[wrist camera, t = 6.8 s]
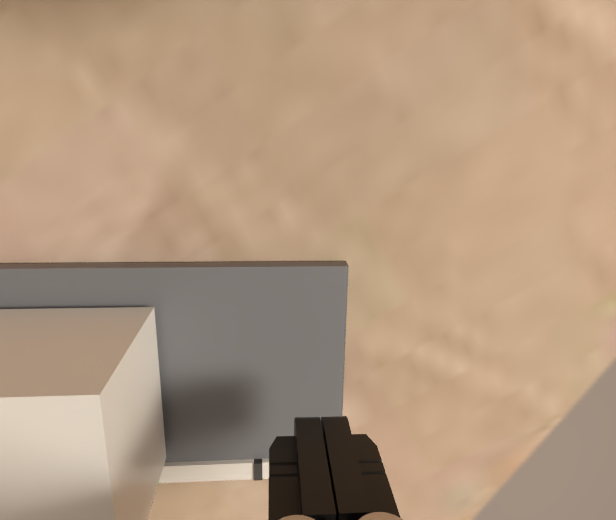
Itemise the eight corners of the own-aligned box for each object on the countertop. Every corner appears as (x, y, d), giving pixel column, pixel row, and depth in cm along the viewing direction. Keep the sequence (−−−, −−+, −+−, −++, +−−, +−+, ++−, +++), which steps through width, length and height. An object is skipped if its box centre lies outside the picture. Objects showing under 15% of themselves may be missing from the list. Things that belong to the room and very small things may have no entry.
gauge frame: (-139, 480, 17) (-331, 649, 11) (-203, 264, 15) (-479, 348, 9) (337, 461, 18) (366, 604, 13) (345, 260, 16) (384, 331, 11)
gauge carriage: (-41, 492, 16) (-171, 648, 11) (-83, 310, 14) (-260, 405, 10) (168, 483, 17) (127, 628, 12) (154, 307, 15) (99, 394, 10)
